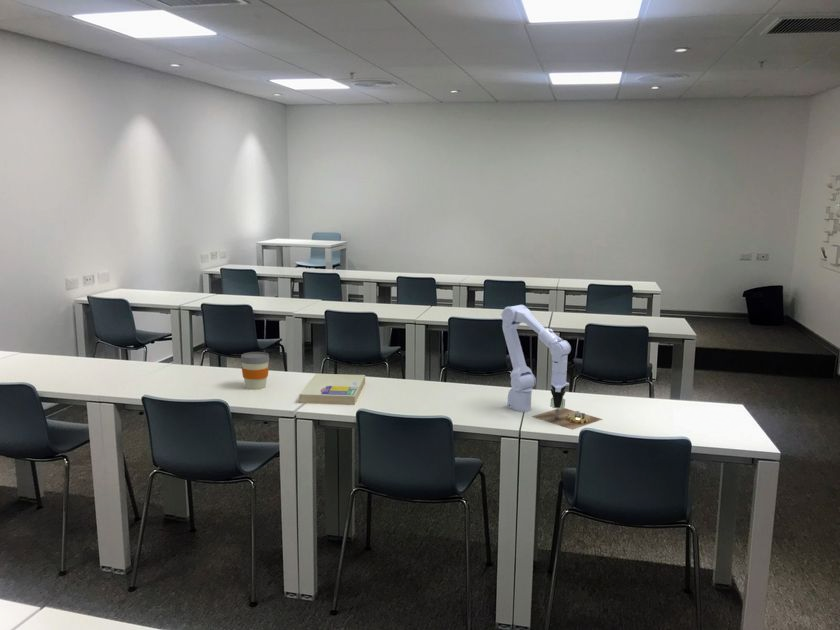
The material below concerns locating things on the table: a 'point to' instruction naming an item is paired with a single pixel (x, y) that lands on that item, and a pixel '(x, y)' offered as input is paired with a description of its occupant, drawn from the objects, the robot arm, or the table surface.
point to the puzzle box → (333, 389)
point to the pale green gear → (560, 406)
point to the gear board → (564, 418)
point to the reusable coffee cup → (255, 369)
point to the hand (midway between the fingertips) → (557, 405)
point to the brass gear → (577, 418)
